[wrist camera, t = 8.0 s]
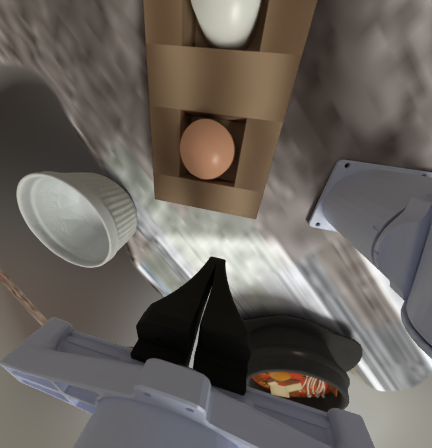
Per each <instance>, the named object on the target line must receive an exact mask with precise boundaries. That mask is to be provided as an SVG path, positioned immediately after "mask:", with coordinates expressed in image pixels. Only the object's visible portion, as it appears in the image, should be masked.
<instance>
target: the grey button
mask: <svg viewBox="0 0 432 448" xmlns="http://www.w3.org/2000/svg"><path fill="white" fill-rule="evenodd" d="M261 1H262V0H191V3H192V6H193V9H194V12H195V14H196V17H197V19H198V22H199V24H200V27H201V29H202V32H203V34H204V37H205V39H206V42H207V44H208V46H209V47H210V48H214V49H227V50H241V51H245V50H246V49H247V48H248V47H249V45H250V44H251V42H252V41H253V39H254V37H255V34H256V32H257V29H258V26H259V21H260V13H261Z"/></svg>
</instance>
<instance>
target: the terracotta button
mask: <svg viewBox="0 0 432 448" xmlns="http://www.w3.org/2000/svg"><path fill="white" fill-rule="evenodd" d="M180 154H181V159H182V161H183V163H184V165H185V167H186V168H187V170H188V171H189V172H190V173H191V174H193V175H194V176H196V177H198V178H201V179H213V178H216V177H218V176H220V175H221V174H223V173H224V172H225V171H226V170H227V169H228V168H229V167H230V166H231V164H232V163H233V161H234V158H235V155H236V144H235V141H234V138H233V136H232V135H231V133H230V132H229V131H228V130H227V129H226V128H225V127H223V126H222V125H221V124H220V123H218V122H216V121H214V120H211V119H200V120H197V121H195V122H193V123H192V124H190V125H189V126H188V127H187V128H186V130H185V131H184V133H183V135H182V138H181V142H180Z"/></svg>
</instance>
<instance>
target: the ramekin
mask: <svg viewBox="0 0 432 448" xmlns="http://www.w3.org/2000/svg"><path fill="white" fill-rule="evenodd" d="M17 201H18V206H19V209H20V211H21V214H22V216H23V218H24V220H25V221H26V223H27V224H28V226H29V228H30V229H31V231H32V232H33V233H34V234H35V235H36V237H37V238H38V239H39V240H40V241H41V242H42V243H43V244H44V245H45V246H46V247H47V248H49V249H50V250H51V251H52V252H54V253H55V254H56V255H58V256H60V257H61V258H63V259H65V260H66V261H68V262H70V263H73V264H75V265H79V266H82V267H90V268H92V267H99V266H101V265H103V264H105V263H106V262H108V261H109V260H110V259H111V258H113V256H114V255H115V254H116V252H117V251H118V249H120V248H121V247H122V246H123V245H124V244H125V243H126V242H127V241H128V240H129V239H130V238H131V237H132V236H133V234H134V232H135V230H136V227H137V212H136V209H135V206H134V204H133V201H132V200H131V198H130V197H129V195H128V194H127V193H126V191H125V190H124V189H123V188H122V187H120V186H119V185H118V184H117V183H115V182H114V181H112V180H111V179H109V178H107V177H105V176H102V175H99V174H96V173H88V172H87V173H86V172H78V173H77V172H76V173H59V172H54V171H44V172H37V173H32V174H28V175H27V176H25V177H23V178H22V179H21V181H20V182H19V184H18V187H17Z"/></svg>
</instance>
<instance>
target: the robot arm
mask: <svg viewBox="0 0 432 448" xmlns="http://www.w3.org/2000/svg"><path fill="white" fill-rule="evenodd" d="M346 163H348V166H347V167H346V168H345V167H344V166H345V164H346ZM421 175H423V176H421ZM316 223H319V224H318V225H316ZM309 225H310V226H311V227H315V228H320V229H325V230H330V231H335V232H339V233H340V234H341V235H342V236H343V237H344V238H345V239H346V240H348V241H349V242H350V243H351V244H352V245H353V246H354V247H355V248H356V249H357V250H358V251H359V252H360V253H361V254H362V255H363V256H365V257H366V258H367V259H368V260H369V261H370V262H371V263H372V264H373V265H374V266H375V267H376V268H377V269H379V270H380V272H381V273H383V274H384V275H385V276H386V277H387V278H388V279H389V281H390V287H391V288H392V289H393V290H394V291H395V292H396V293H397V294H398V295H399V296H400V297H401V298H402V299H403V300H405V301H404V304H403V306H402V308H401V318H402V322H403V324H404V327H405V329H406V330H407V332H408V333H409V335H410V336H411V338H412V339H413V340H414V341H415V342H416V344H417V345H418V346H419V347H420V348H421V349H422V350H423V351H424V352H425V353H426V354H427V355H428V356H429V357H430V358H432V172H426V171H419V170H412V169H406V168H399V167H392V166H385V165H378V164H371V163H364V162H358V161H351V160H344V159H342V160H339V161H337V162H336V164H335V166H334V168H333V171H332V173H331V175H330V177H329V179H328V181H327V183H326V186H325V188H324V190H323V192H322V194H321V196H320V198H319V201H318V203H317V205H316V207H315V209H314V211H313V214H312V216H311V218H310V220H309ZM225 262H226V261H225V260H224V259H220V258H216V257H210V258H209V260H208V261H207V262H206V264H205V265H204V266H203V267H202V268H201V269H200V271H199V272H198V273H197V274H196V275H195V276H193V277H192V278H191V279H190V280H189V281H188V282H187V283H185V284H184V285H183V286H181V287H180V288H179V289H177V290H176V291H174V292H172V293H171V294H169V295H168V296H166V297H164V298H162V299H160V300H158V301H156V302H154V303H152V304H151V305H150V306H149V307H148V309H147V310H146V311H145V312H144V314H143V315H142V317H141V319H140V320H139V322H138V324H137V325H136V329H137V334H138V341H137V343H136V345H135V346H134V348H133V349H131V348H128V347H125V346H121V345H118V344H115V343H112V342H109V341H106V340H103V339H100V338H97V337H94V336H91V335H88V334H85V333H81V332H78V331H75V330H73V327H72V325H71V324H70V323H69V322H67V321H63V320H61V319H57V318H54V317H53V318H51V319H49V320H48V321H47V322H46V323H45V324H44V325H42V326H41V327H40V328H39V329H38V330H37V331H35V332H34V333H33V334H32V335H31V336H30V337H28V338H27V339H26V340H25V341H24V342H23V343H22V344H20V345H19V346H18V347H17V348H16V349H14V350H13V351H12V352H11V353H10V354H9V355H7V356H6V357H5V358H4V359H3V360H2V361H0V365H1V366H2V367H3V368H5V369H6V370H7V371H8V372H9V373H10V374H11V375H13V376H14V377H15V378H16V379H17V380H19V381H20V382H21V383H23V384H26V385H28V386H31V387H33V388H36V389H38V390H40V391H43V392H45V393H47V394H49V395H52V396H54V397H56V398H58V399H60V400H62V401H65V402H67V403H69V404H71V405H73V406H75V407H78V408H80V409H82V410H84V411H86V412H88V413H90V414H92V416H91V418H90V419H89V421H88V423H87V424H86V426H85V428H84V429H83V431H82V433H81V435H80V436H79V438H78V440H77V441H76V443H75V445H74V447H73V448H375V447H374V445H373V442H372V440H371V438H370V435H369V433H368V431H367V428H366V426H365V423H364V421H363V419H362V417H361V416H360V415H357V414H354V413H351V412H348V411H345V410H342V409H338V408H332V409H330V410H329V411H328V412H324V411H321V410H318V409H315V408H312V407H309V406H306V405H303V404H300V403H297V402H293V401H290V400H287V399H284V398H281V397H278V396H275V395H272V394H269V393H266V392H263V391H260V390H257V389H254V388H250V387H247V386H246V374H247V372H248V362H249V360H250V358H251V356H252V346H251V340H250V335H249V331H248V329H247V328H246V326H245V324H244V322H243V320H242V318H241V317H240V315H239V312H238V310H237V308H236V306H235V303H234V301H233V298H232V295H231V292H230V289H229V285H228V281H227V276H226V268H225ZM211 288H212V289H211ZM210 291H211V292H210ZM209 293H210V295H209ZM208 296H209V299H208ZM207 299H208V302H207V305H206V308H205V311H204V314H203V317H202V313H203V310H204V307H205V304H206V301H207ZM201 317H202V320H201ZM200 320H201V323H200ZM199 324H200V330H199V337H198V344H197V347H196V351H195V355H194V364H193V369H192V368H189V367H188V366H189V362H190V359H191V355H192V351H193V347H194V343H195V339H196V335H197V332H198V328H199Z"/></svg>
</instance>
